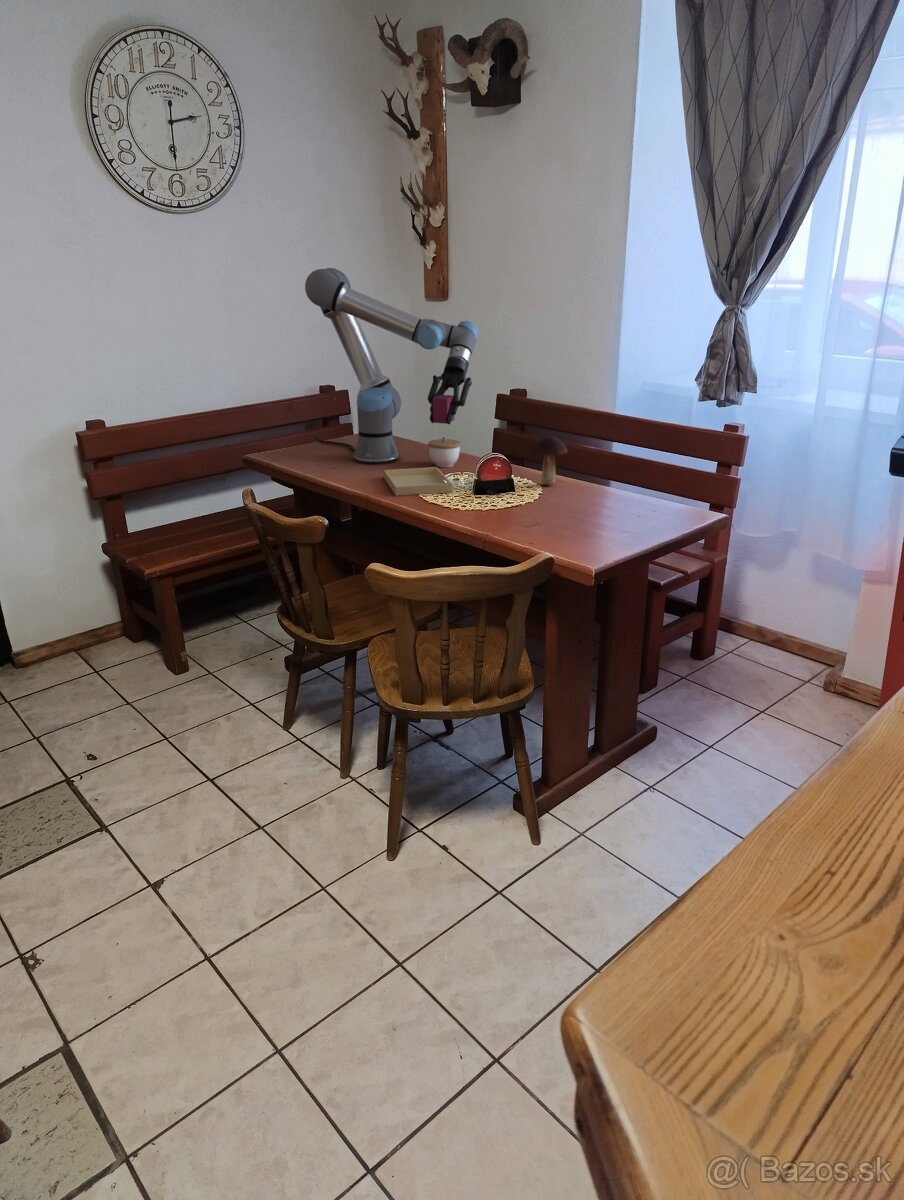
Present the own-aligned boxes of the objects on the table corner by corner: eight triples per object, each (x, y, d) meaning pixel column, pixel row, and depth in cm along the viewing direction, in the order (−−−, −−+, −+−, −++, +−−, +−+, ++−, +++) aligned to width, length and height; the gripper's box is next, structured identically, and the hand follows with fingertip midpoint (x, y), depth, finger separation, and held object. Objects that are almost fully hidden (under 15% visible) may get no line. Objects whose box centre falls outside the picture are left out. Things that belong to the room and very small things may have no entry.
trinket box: (437, 470, 268) (437, 442, 264) (423, 463, 276) (422, 436, 273) (465, 466, 272) (466, 438, 268) (451, 460, 281) (451, 433, 277)
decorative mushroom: (570, 488, 246) (573, 439, 240) (536, 490, 244) (538, 441, 238) (558, 479, 256) (561, 432, 250) (525, 481, 254) (527, 433, 248)
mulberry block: (440, 418, 272) (440, 394, 269) (454, 420, 271) (454, 395, 268) (432, 422, 266) (432, 397, 263) (447, 423, 265) (447, 398, 262)
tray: (384, 478, 258) (383, 470, 257) (436, 474, 262) (436, 467, 261) (395, 495, 239) (395, 487, 238) (452, 492, 243) (452, 483, 242)
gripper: (429, 354, 272) (411, 412, 265) (480, 357, 267) (463, 416, 259) (435, 369, 279) (417, 425, 271) (485, 372, 273) (468, 430, 265)
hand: (439, 421), depth 265 cm, fingers closed on mulberry block, 5 cm apart
